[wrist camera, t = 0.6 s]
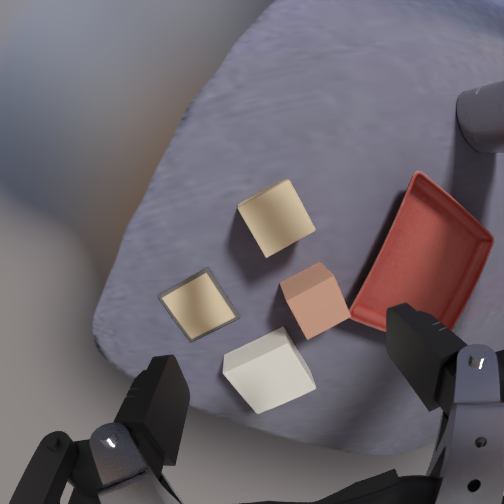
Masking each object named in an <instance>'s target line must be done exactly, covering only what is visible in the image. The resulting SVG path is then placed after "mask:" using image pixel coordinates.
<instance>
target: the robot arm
mask: <svg viewBox="0 0 504 504" xmlns="http://www.w3.org/2000/svg"><path fill="white" fill-rule="evenodd" d="M457 117H458V121H459V125H460V128H461V131H462V133H463V135H464V137H465V138H466V140H467V142H468V143H469V144H470V145H471V147H472V148H474V149H475V150H476V151H478V152H481V153H504V81H501V82H497V83H493V84H489V85H486V86H482V87H478V88H475V89H472V90H468V91H465V92H463V93H462V94H461V95H460V96H459V98H458V102H457ZM386 347H387V351H388V354H389V356H390V358H391V359H392V360H393V362H394V363H395V364H396V366H397V367H398V368H399V370H400V371H401V373H402V374H403V375H404V377H405V378H406V380H407V381H408V382H409V384H410V385H411V386H412V388H413V389H414V391H415V392H416V393H417V395H418V396H419V398H420V399H421V401H422V402H423V403H424V405H425V406H426V408H427V409H428V411H429V412H430V411H432V410H434V409H436V408H438V407H441V408H442V410H443V412H442V415H441V420H440V425H439V430H438V435H437V439H436V444H435V448H434V452H433V455H432V459H431V462H430V465H429V467H428V470H427V472H426V475H425V476H423V475H412V476H402V477H398V475H397V473H396V470H395V469H393V470H390V471H387V472H385V473H382V474H380V475H377V476H374V477H371V478H368V479H365V480H362V481H359V482H356V483H354V484H352V485H350V486H348V487H346V488H344V489H342V490H340V491H338V492H336V493H334V494H332V495H330V496H328V497H326V498H324V499H321V500H319V501H316V502H309V503H307V502H304V503H303V502H276V501H264V502H255V503H241V504H504V496H503V492H504V350H501V351H498V352H494V350H492V349H491V348H490V347H488V346H485V345H481V344H472V345H467V344H466V343H465V342H463V341H462V340H461V339H460V338H459V337H458V336H456V335H455V334H454V333H453V332H452V331H451V330H449V329H448V328H446V326H445V325H443V324H442V323H440V322H439V320H437V319H436V318H435V317H434V316H433V315H431V314H429V313H426V312H423V311H416V310H415V309H414V308H413V307H412V306H410V305H409V304H408V303H406V302H405V303H402V304H398V305H395V306H392V307H389V308H388V309H387V311H386ZM189 401H190V392H189V388H188V385H187V382H186V380H185V378H184V376H183V374H182V371H181V369H180V367H179V365H178V362H177V360H176V358H175V357H174V355H164V356H155V357H153V358H152V360H151V362H150V364H149V366H148V368H147V370H143V371H142V372H141V373H140V374H139V375H138V376H137V377H136V378H135V379H134V381H133V383H132V385H131V387H130V390H129V391H128V393H127V397H125V399H124V401H123V403H122V405H121V407H120V409H119V412H118V414H117V416H116V418H115V420H114V422H112V423H107V424H104V425H102V426H100V427H99V428H97V429H96V430H95V431H94V432H93V433H92V435H91V437H90V439H88V440H82V441H75V442H73V441H72V440H71V438H70V437H69V436H68V435H67V434H66V433H65V432H62V431H55V432H52V433H50V434H48V435H47V436H45V437H44V438H43V439H42V441H41V442H40V444H39V446H38V447H37V449H36V451H35V453H34V455H33V457H32V458H31V460H30V462H29V464H28V466H27V468H26V470H25V472H24V474H23V476H22V478H21V480H20V482H19V484H18V486H17V488H16V490H15V492H14V494H13V496H12V498H11V500H10V503H9V504H60V498H61V496H62V493H63V490H64V488H65V485H66V483H67V481H68V482H69V483H70V484H71V485H72V486H73V487H74V489H73V492H72V495H71V497H70V500H69V503H68V504H184V503H183V502H182V500H181V499H180V497H179V496H178V495H177V493H176V492H175V490H174V489H173V488H172V486H171V485H170V483H169V482H168V480H167V479H166V477H165V476H164V475H163V473H162V468H163V465H167V466H168V465H169V466H175V465H176V460H177V455H178V451H179V445H180V441H181V437H182V432H183V428H184V423H185V418H186V414H187V410H188V406H189Z"/></svg>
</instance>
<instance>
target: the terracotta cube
mask: <svg viewBox="0 0 504 504" xmlns="http://www.w3.org/2000/svg"><path fill="white" fill-rule="evenodd" d="M280 286H281V288H282V291H283V293H284V296H285V299H286V301H287V303H288V305H289V307H290V309H291V310H292V312H293V314H294V316H295V318H296V320H297V322H298V324H299V325H300V327H301V329H302V331H303V333H304V335H305V337H306V338H307V340H308V339H310V338H312V337H314V336H316V335H318V334H320V333H322V332H324V331H326V330H327V329H329V328H331V327H333V326H335V325H337V324H339V323H340V322H342V321H344V320H346V319H348V318H349V317H351V315H350V312H349V310H348V308H347V305H346V303H345V300H344V298H343V296H342V293H341V291H340V289H339V286H338V284H337V282H336V279H335V277H334V275H333V274H332V273H331V272H330V271H329V270H328V269H327V268H326V267H325V266H324V265H323V264H322V263H321V262H318V263H316V264H315V265H313V266H311V267H309V268H307V269H305V270H303V271H301V272H299V273H298V274H296V275H294V276H292V277H290V278H288V279H286V280H284V281H282V282H280Z"/></svg>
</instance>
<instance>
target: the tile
mask: <svg viewBox="0 0 504 504" xmlns="http://www.w3.org/2000/svg"><path fill="white" fill-rule="evenodd" d="M158 298H159V299H160V300H161V302H162V303H163V305H164V306H165V308H166V309H167V310H168V312H169V313H170V315H171V316H172V317H173V319H174V320H175V322H176V323H177V324H178V326H179V327H180V328H181V330H182V331H183V332H184V334H185V335H186V336H187V338H188V339H189V340H190V342H192V341H194V340H196V339H198V338H201V337H203V336H205V335H207V334H209V333H211V332H213V331H215V330H217V329H219V328H221V327H223V326H225V325H227V324H229V323H231V322H233V321H235V320H237V319H239V318H240V316H239V314H238V313H237V311H236V310H235V308H234V307H233V305H232V304H231V302H230V301H229V299H228V298H227V296H226V294H225V293H224V291H223V290H222V288H221V287H220V285H219V284H218V282H217V281H216V279H215V277H214V276H213V274H212V273H211V271H210V270H209V268H208V267H207V268H205V269H203V270H202V271H200V272H198V273H196V274H195V275H193V276H191V277H189V278H188V279H186V280H184V281H182V282H181V283H179V284H177V285H175V286H174V287H172V288H170V289H168V290H167V291H165V292H163V293H161V294H160V295H158Z"/></svg>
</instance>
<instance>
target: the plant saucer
mask: <svg viewBox="0 0 504 504" xmlns="http://www.w3.org/2000/svg"><path fill="white" fill-rule="evenodd" d="M493 243H494V237H493V235H492V234H491V233H490V232H489V231H488V230H487V229H486V228H485V227H484V226H483V225H482V224H481V223H480V222H479V221H478V220H477V219H476V218H475V217H474V216H473V215H471V214H470V213H469V212H468V211H467V210H466V209H465V208H464V207H463V206H462V205H461V204H459V203H458V202H457V201H456V200H455V199H454V198H453V197H452V196H451V195H449V194H448V193H447V192H446V191H445V190H443V189H442V188H441V187H440V186H439V185H437V184H436V183H435V182H434V181H432V180H431V179H430V178H429V177H427V176H426V175H425V174H424V173H422V172H421V171H416V172H415V173H414V174H413V176H412V178H411V181H410V183H409V185H408V188H407V191H406V193H405V195H404V198H403V200H402V202H401V205H400V207H399V209H398V212H397V214H396V216H395V218H394V221H393V223H392V225H391V227H390V230H389V232H388V234H387V236H386V238H385V240H384V243H383V245H382V247H381V249H380V251H379V253H378V255H377V257H376V259H375V261H374V263H373V265H372V267H371V269H370V271H369V273H368V275H367V277H366V279H365V281H364V282H363V284H362V286H361V288H360V290H359V292H358V294H357V295H356V297H355V299H354V301H353V302H352V304H351V306H350V309H349V312H350V315H351V317H349V318H350V319H351V320H354V321H356V322H359V323H362V324H365V325H367V326H370V327H373V328H375V329H378V330H381V331H384V332H386V311H387V309H388V308H389V307H392V306H395V305H398V304H402V303H405V302H406V303H408V304H409V305H410V306H412V307H413V308H414V309H415V310H416V311H423V312H426V313H429V314H431V315H433V316H434V317H435V318H436V319H437V320H439V322H440V323H442V324H443V325H445V326H446V328H448V329H449V330H451V331H452V330H453V328H454V326H455V324H456V323H457V321H458V319H459V317H460V316H461V314H462V312H463V310H464V308H465V306H466V304H467V302H468V300H469V299H470V296H471V294H472V292H473V290H474V288H475V286H476V284H477V282H478V280H479V278H480V275H481V273H482V271H483V268H484V266H485V264H486V261H487V259H488V256H489V254H490V252H491V249H492V246H493Z"/></svg>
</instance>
